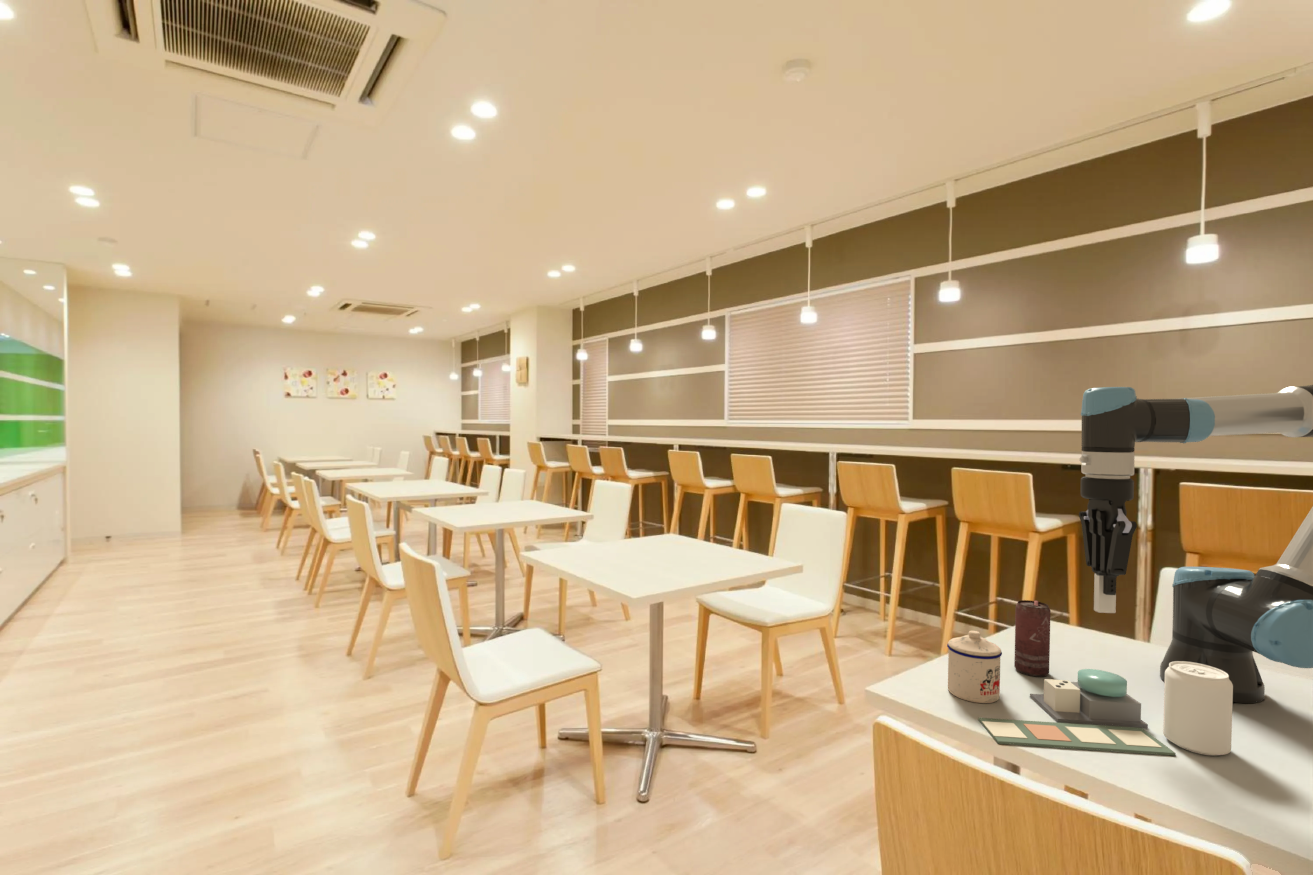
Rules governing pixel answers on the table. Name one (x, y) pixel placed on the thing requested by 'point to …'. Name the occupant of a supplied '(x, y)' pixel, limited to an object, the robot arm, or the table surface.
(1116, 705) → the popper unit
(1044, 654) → the can
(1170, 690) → the beverage can
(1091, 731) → the track
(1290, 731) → the table surface
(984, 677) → the teacup with lid
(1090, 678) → the dome cap
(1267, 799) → the table surface
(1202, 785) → the table surface
